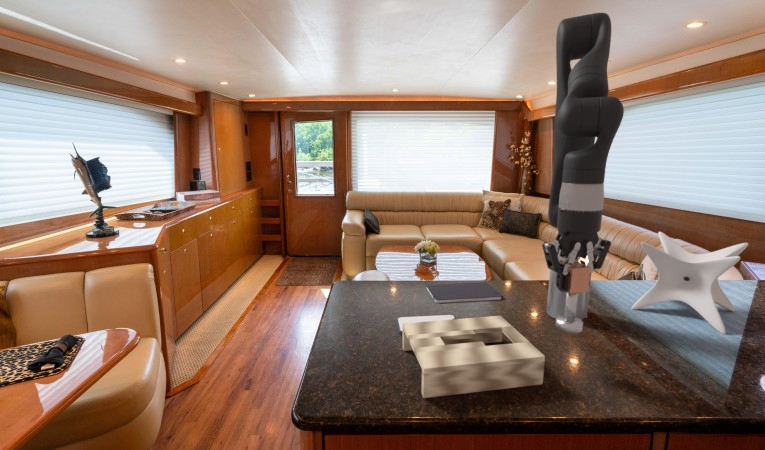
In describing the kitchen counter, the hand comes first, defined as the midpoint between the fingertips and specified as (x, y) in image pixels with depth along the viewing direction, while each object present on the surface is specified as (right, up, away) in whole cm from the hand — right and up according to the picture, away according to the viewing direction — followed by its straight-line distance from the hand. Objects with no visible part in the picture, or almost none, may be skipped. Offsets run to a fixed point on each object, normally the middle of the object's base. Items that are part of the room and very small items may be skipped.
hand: (572, 289), depth 74 cm
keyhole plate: (-21, -17, +4) cm, 27 cm away
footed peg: (0, -8, +2) cm, 8 cm away
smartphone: (-27, -14, +21) cm, 37 cm away
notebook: (-13, -10, +43) cm, 46 cm away
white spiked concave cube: (+47, -11, +30) cm, 57 cm away
